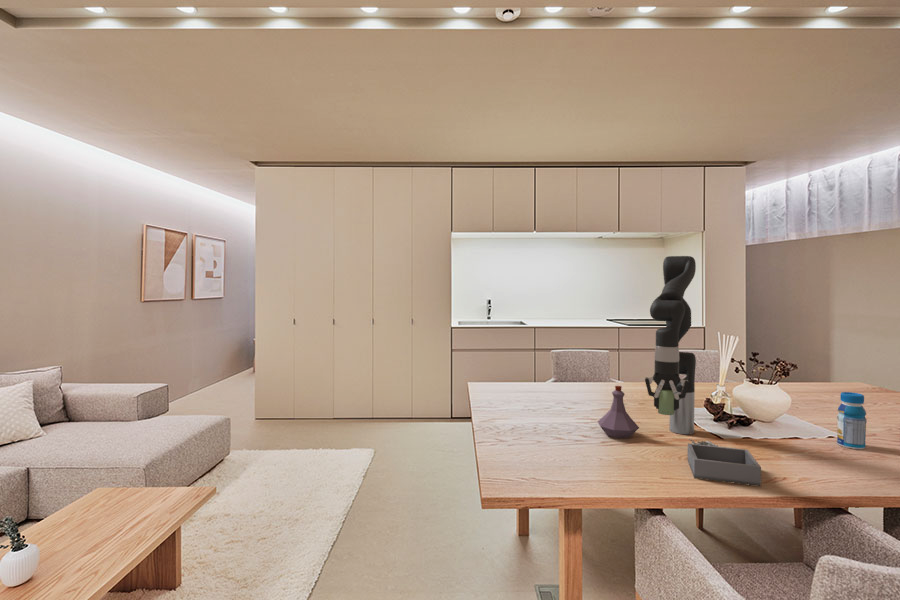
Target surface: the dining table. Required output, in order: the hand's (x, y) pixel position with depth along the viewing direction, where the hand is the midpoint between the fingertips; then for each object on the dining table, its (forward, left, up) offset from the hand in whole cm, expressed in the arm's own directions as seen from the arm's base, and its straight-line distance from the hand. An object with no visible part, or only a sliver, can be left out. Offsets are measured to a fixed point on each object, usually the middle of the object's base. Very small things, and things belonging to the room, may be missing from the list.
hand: (666, 408), depth 157 cm
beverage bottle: (-44, +68, -19) cm, 83 cm away
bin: (+1, +17, -19) cm, 25 cm away
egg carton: (-17, +15, -20) cm, 30 cm away
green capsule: (0, 0, -1) cm, 1 cm away
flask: (-28, -15, -19) cm, 37 cm away
